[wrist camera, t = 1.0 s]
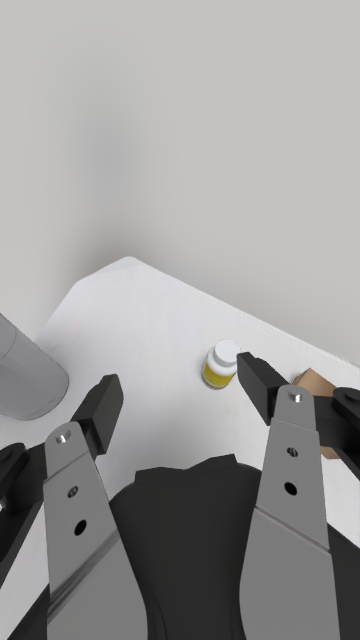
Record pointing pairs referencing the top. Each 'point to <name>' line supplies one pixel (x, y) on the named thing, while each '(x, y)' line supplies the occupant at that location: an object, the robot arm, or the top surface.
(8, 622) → the top surface
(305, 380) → the plinth
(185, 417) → the top surface
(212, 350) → the supplement bottle
